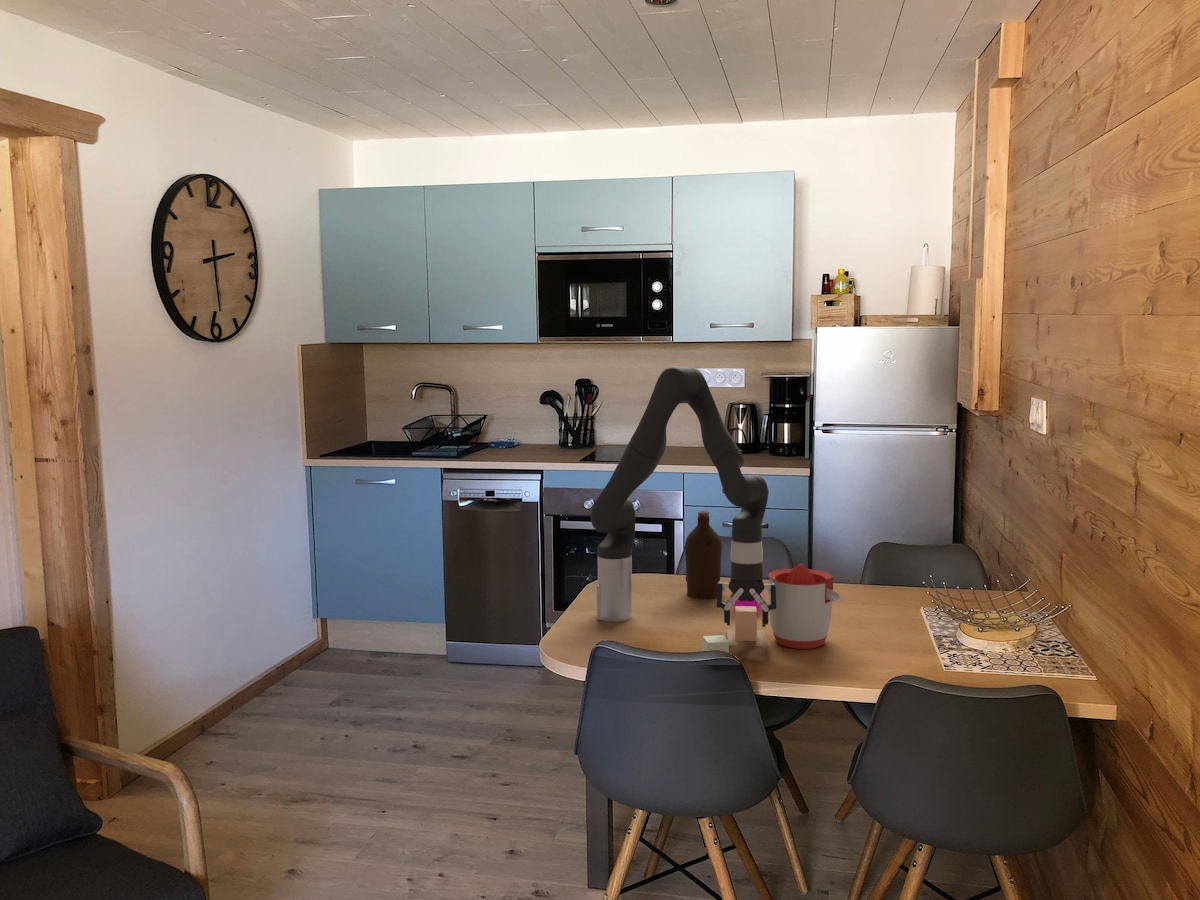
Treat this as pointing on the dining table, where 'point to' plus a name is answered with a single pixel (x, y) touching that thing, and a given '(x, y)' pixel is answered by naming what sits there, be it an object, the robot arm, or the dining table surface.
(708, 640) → the sage cube
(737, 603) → the toy block
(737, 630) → the clay block
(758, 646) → the walnut base block
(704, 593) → the olive oil
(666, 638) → the dining table surface
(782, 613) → the citrus juicer
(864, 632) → the dining table surface
